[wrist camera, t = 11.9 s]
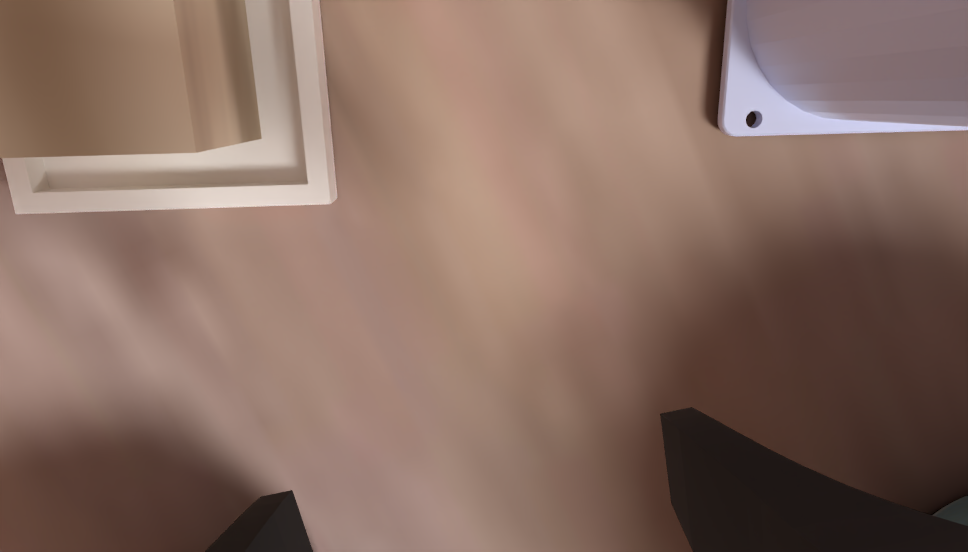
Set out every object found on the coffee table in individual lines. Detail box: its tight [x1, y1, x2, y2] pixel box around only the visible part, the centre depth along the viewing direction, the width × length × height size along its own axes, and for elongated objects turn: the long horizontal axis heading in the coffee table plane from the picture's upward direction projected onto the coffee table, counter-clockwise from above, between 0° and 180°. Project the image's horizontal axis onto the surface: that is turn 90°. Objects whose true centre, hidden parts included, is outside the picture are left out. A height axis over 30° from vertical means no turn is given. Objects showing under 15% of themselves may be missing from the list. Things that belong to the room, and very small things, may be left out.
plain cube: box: [0, 0, 262, 158], centre depth 15 cm, size 5×5×5 cm
